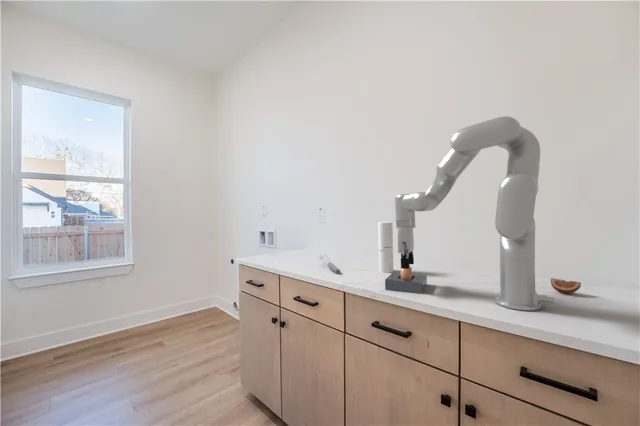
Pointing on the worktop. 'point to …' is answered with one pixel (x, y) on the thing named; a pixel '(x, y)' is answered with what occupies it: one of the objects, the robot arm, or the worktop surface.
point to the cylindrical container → (385, 246)
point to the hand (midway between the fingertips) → (407, 266)
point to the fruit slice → (565, 285)
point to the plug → (406, 273)
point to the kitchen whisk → (332, 266)
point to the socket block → (406, 283)
